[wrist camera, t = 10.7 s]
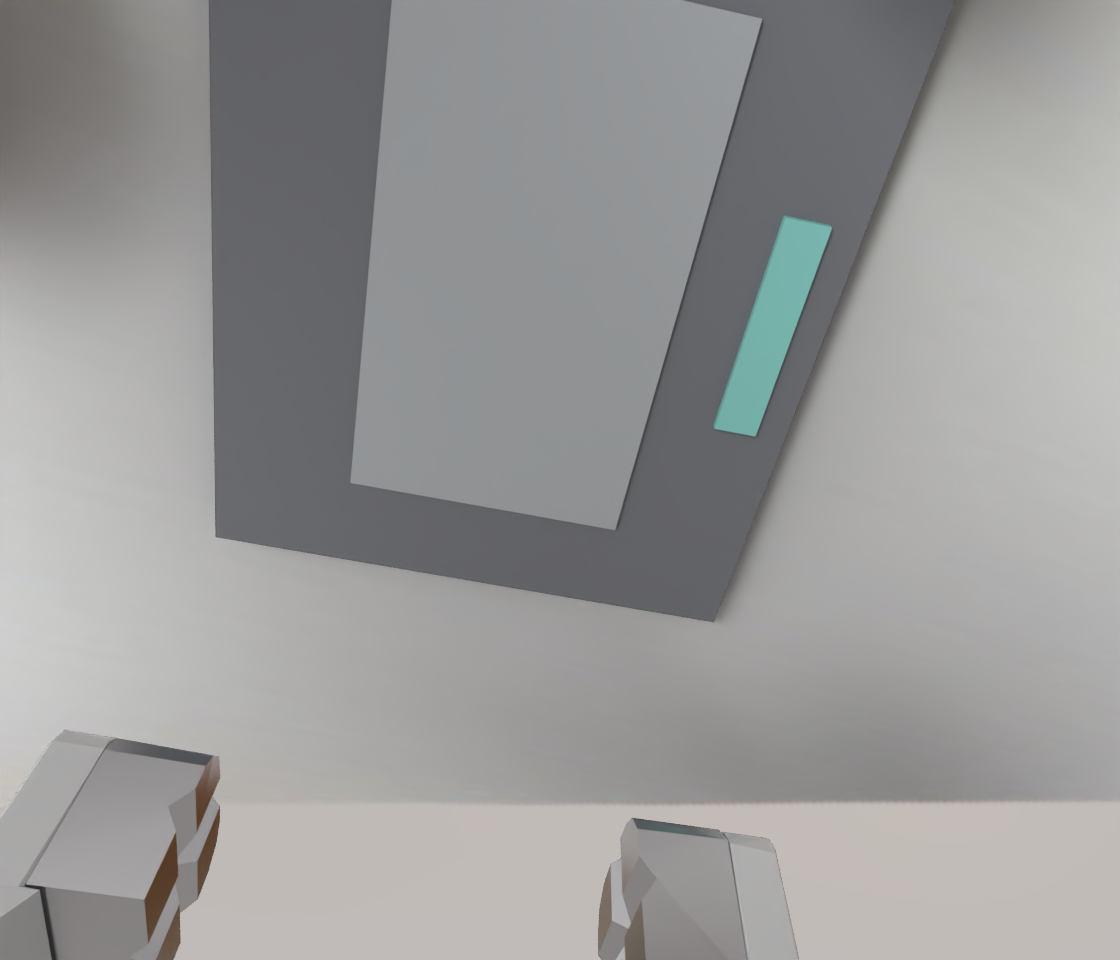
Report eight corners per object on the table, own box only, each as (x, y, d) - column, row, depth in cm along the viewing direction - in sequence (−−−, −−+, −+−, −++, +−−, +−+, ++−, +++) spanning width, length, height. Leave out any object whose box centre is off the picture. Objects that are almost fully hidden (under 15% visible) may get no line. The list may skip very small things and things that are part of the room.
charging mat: (223, -286, 18) (201, -299, 17) (975, -99, 19) (997, -100, 18) (226, 518, 28) (213, 540, 27) (709, 602, 29) (714, 626, 28)
